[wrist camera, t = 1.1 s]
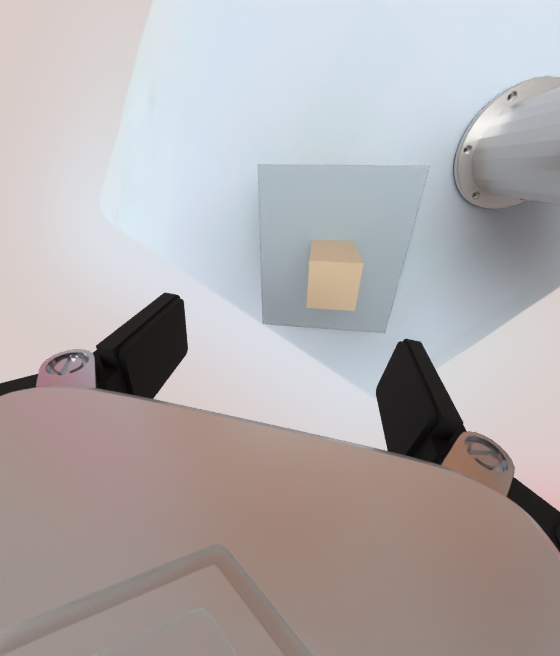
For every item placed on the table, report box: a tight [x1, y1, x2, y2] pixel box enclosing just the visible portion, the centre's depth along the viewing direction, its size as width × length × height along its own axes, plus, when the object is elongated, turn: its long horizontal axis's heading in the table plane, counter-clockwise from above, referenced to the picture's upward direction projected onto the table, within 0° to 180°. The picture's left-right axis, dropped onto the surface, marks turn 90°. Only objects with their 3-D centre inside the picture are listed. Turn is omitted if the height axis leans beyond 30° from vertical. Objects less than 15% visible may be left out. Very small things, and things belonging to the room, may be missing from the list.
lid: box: [258, 164, 430, 333], centre depth 24 cm, size 14×16×9 cm
